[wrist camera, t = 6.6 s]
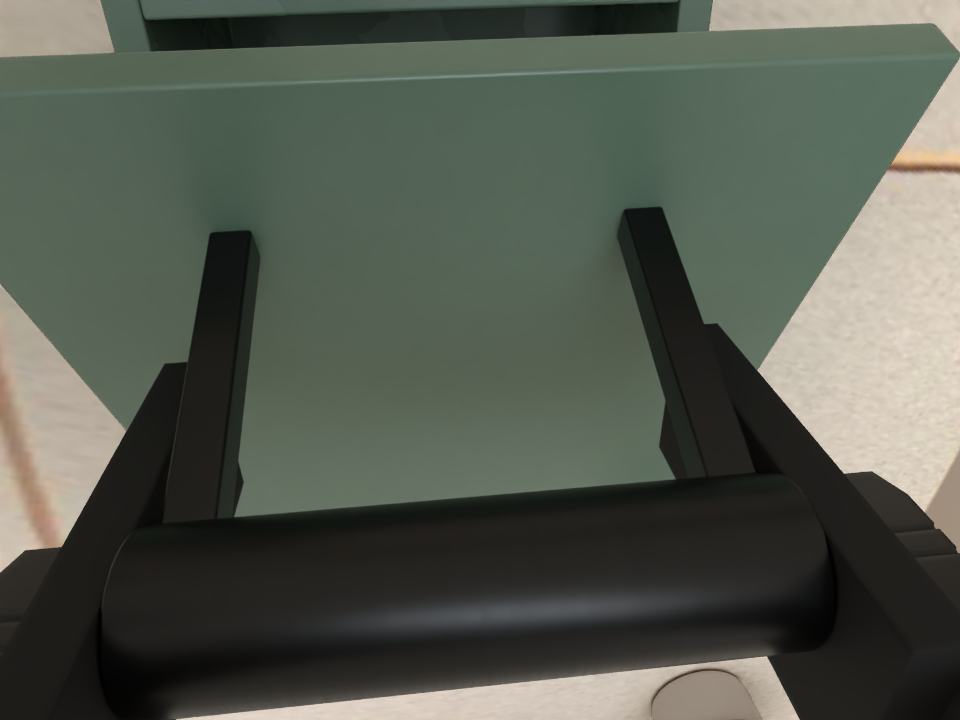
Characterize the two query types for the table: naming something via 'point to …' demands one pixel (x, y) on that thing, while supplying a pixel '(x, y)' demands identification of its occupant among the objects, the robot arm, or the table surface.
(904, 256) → the table surface
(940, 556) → the robot arm
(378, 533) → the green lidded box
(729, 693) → the coffee cup
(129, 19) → the green storage box
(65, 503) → the table surface
